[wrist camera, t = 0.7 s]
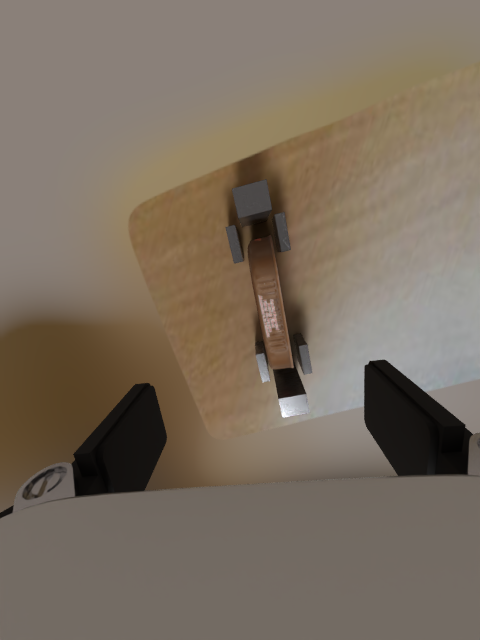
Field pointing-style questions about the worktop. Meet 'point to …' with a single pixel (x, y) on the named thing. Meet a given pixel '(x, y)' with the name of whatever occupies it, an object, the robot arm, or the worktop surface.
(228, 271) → the worktop surface
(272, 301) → the tin
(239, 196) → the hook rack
